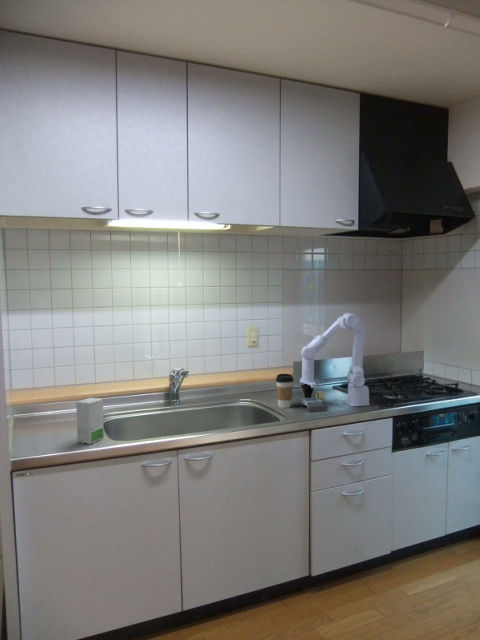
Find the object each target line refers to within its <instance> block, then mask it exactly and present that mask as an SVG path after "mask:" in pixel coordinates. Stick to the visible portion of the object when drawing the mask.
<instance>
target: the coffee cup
mask: <svg viewBox="0 0 480 640" xmlns="http://www.w3.org/2000/svg"><path fill="white" fill-rule="evenodd" d="M293 377H294V376H293V375H292V374H290V373H280V374H277V375H276V379H275V382H276V395H277V405H278V408H282V409H287V408H291V406H292V396H293V387H294V386H293V383H294V378H293Z"/></svg>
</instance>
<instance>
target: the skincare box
mask: <svg viewBox="0 0 480 640" xmlns="http://www.w3.org/2000/svg"><path fill="white" fill-rule="evenodd" d="M75 405H76V431H77V432H76V433H77V443H79V442H81V443H80V444H84V443H87V444H86V445H92V444H94V443H97V442H99V441H101V440H103V438H104V439H105V432H104V427H105V426H104V400H103V398H99V397H98V398H96V397H89V398H86V399H85V398H84V399H82V400H78V401H76V402H75ZM98 440H99V441H98ZM96 441H97V442H96ZM91 443H92V444H91Z"/></svg>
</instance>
